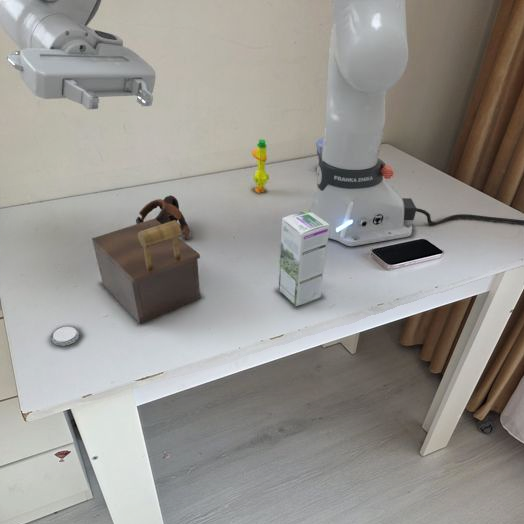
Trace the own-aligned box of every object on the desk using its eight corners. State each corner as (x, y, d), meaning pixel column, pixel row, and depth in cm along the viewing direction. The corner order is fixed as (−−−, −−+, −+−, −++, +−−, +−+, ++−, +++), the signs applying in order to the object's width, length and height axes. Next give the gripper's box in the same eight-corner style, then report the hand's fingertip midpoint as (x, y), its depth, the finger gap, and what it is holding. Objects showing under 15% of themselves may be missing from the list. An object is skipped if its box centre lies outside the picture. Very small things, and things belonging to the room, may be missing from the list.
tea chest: (200, 297, 85) (197, 256, 79) (139, 323, 79) (131, 281, 74) (160, 262, 93) (155, 222, 87) (102, 284, 87) (92, 242, 81)
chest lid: (200, 258, 79) (197, 218, 74) (134, 283, 73) (126, 242, 68) (155, 222, 87) (149, 184, 82) (92, 242, 81) (83, 203, 76)
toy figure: (246, 186, 118) (246, 135, 110) (259, 183, 119) (261, 133, 111) (258, 197, 114) (260, 145, 105) (272, 194, 115) (274, 143, 107)
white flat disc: (54, 348, 74) (53, 345, 74) (50, 332, 77) (49, 329, 76) (81, 341, 76) (80, 338, 75) (76, 326, 78) (75, 323, 78)
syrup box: (322, 297, 86) (332, 223, 76) (294, 308, 83) (301, 232, 73) (303, 281, 89) (310, 208, 79) (276, 291, 87) (280, 216, 77)
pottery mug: (189, 249, 97) (165, 220, 91) (152, 261, 101) (126, 234, 95) (198, 208, 103) (176, 178, 97) (163, 221, 107) (139, 193, 101)
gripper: (0, 28, 66) (57, 81, 62) (126, 36, 79) (179, 80, 75) (1, 76, 70) (55, 128, 66) (121, 75, 83) (171, 119, 80)
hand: (122, 102), depth 71 cm, fingers open, 8 cm apart
